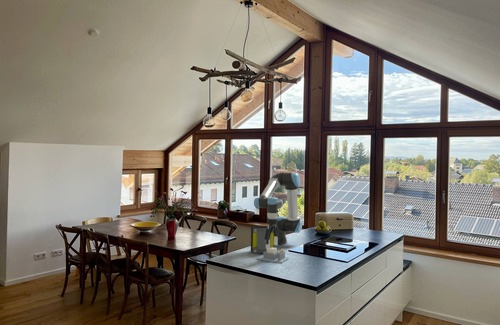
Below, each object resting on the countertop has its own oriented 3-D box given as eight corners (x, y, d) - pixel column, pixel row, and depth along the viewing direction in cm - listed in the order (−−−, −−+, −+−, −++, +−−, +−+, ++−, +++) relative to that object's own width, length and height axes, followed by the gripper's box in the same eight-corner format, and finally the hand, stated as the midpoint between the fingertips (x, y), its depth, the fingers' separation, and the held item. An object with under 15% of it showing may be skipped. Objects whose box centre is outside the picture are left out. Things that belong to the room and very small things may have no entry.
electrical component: (252, 253, 288) (253, 228, 288) (250, 250, 298) (250, 226, 298) (274, 253, 291) (274, 228, 291) (271, 250, 301) (271, 225, 301)
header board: (264, 255, 282) (264, 244, 282) (288, 259, 273) (288, 248, 273) (257, 259, 272) (257, 247, 272) (281, 263, 262) (282, 251, 262)
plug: (269, 256, 276) (269, 246, 276) (276, 257, 273) (276, 247, 273) (266, 257, 272) (266, 247, 272) (273, 258, 269) (274, 248, 269)
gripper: (274, 215, 285) (274, 243, 285) (260, 219, 263) (259, 249, 264) (283, 216, 282) (283, 244, 282) (269, 221, 260) (268, 250, 260)
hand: (271, 246), depth 273 cm, fingers open, 13 cm apart
